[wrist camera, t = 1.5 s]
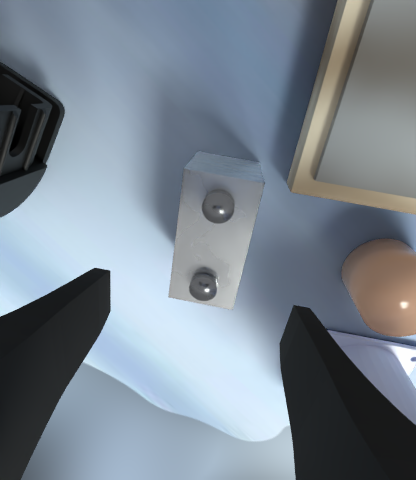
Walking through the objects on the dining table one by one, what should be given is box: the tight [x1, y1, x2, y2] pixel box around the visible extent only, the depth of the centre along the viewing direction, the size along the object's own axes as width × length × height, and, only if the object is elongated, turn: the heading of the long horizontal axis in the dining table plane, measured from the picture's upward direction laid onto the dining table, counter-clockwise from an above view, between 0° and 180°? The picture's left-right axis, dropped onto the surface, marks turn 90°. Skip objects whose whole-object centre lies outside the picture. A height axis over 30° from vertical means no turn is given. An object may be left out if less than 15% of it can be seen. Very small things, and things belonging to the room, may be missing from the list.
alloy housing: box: [169, 151, 265, 310], centre depth 18 cm, size 8×4×6 cm, turn 171°
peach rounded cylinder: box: [341, 238, 416, 337], centre depth 19 cm, size 5×5×4 cm
